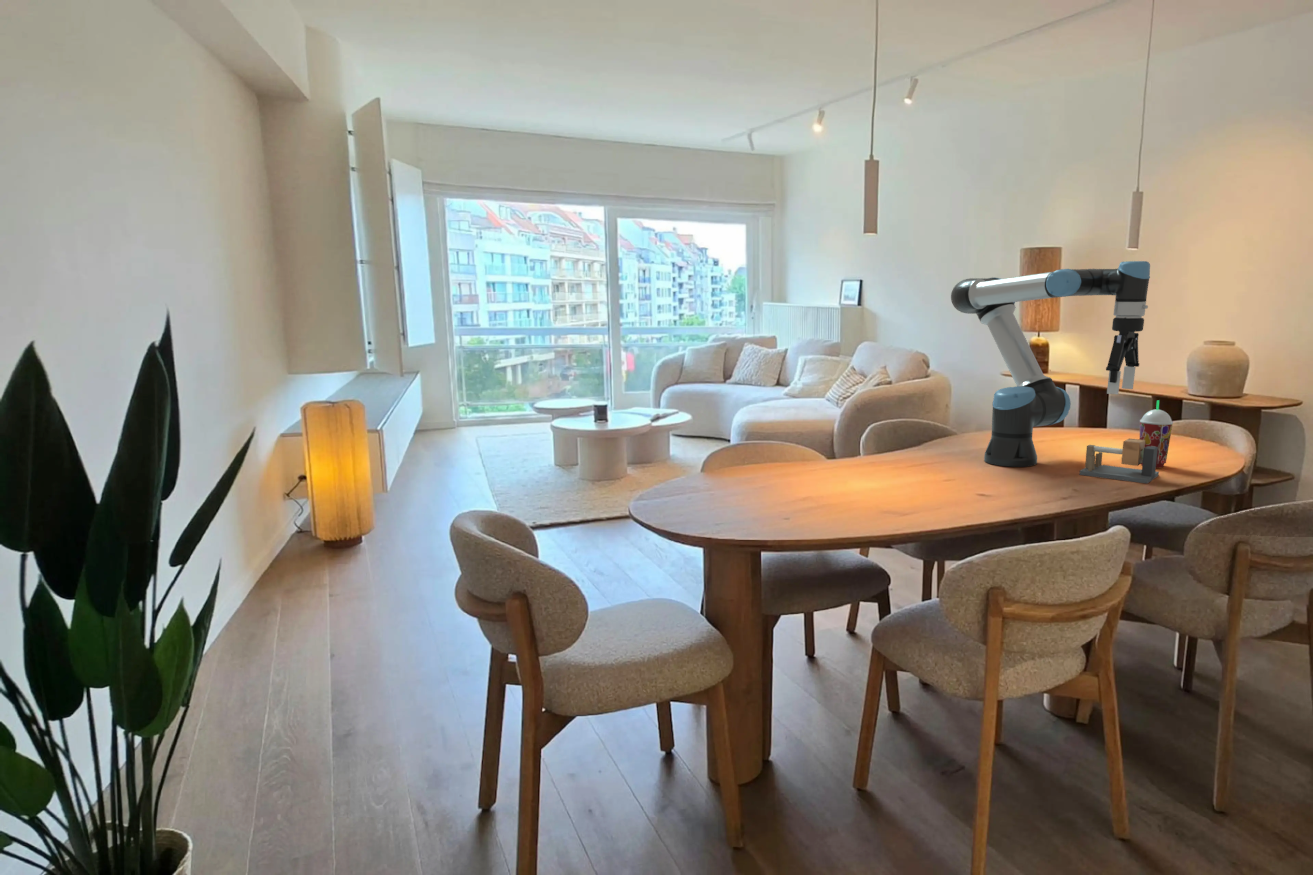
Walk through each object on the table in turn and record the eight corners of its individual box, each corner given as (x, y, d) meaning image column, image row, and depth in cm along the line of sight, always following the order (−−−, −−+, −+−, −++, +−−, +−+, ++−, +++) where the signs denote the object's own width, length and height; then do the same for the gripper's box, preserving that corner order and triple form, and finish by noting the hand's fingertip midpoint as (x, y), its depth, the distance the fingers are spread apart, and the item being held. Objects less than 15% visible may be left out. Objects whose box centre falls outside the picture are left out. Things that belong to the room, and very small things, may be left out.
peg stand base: (1079, 474, 219) (1081, 444, 217) (1092, 467, 227) (1094, 438, 225) (1147, 483, 206) (1150, 451, 205) (1158, 475, 215) (1161, 444, 213)
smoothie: (1175, 468, 223) (1181, 401, 219) (1146, 469, 223) (1152, 402, 219) (1157, 462, 231) (1163, 398, 227) (1129, 463, 231) (1135, 399, 227)
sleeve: (1121, 464, 213) (1123, 441, 212) (1127, 460, 217) (1129, 438, 216) (1137, 465, 210) (1139, 443, 209) (1143, 462, 214) (1145, 440, 213)
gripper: (1130, 319, 201) (1121, 397, 206) (1156, 315, 218) (1147, 387, 222) (1099, 318, 207) (1091, 394, 211) (1127, 314, 223) (1119, 385, 228)
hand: (1120, 391), depth 217 cm, fingers open, 13 cm apart
